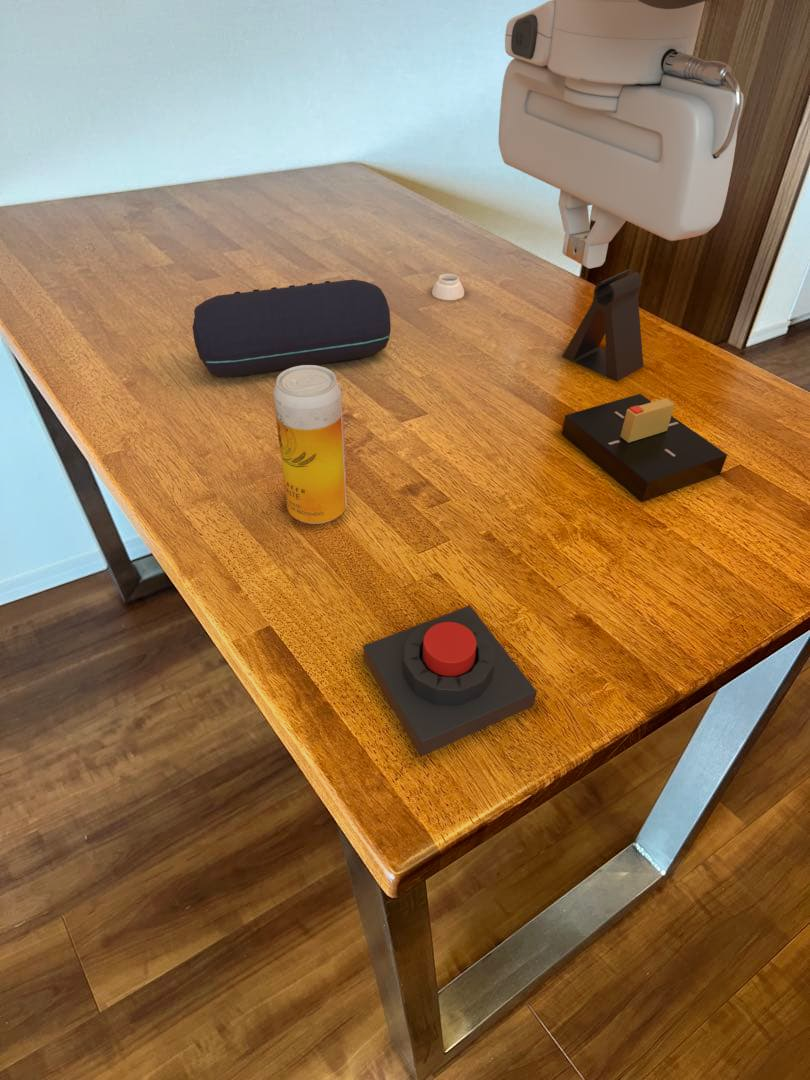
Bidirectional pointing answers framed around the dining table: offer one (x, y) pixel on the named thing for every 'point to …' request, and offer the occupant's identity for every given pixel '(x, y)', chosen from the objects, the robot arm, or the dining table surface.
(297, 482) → the beer can
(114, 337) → the dining table surface
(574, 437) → the plate
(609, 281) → the phone stand
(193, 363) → the dining table surface
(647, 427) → the thumb turn
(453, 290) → the lidless jar
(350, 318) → the portable speaker
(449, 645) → the button
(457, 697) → the button base
